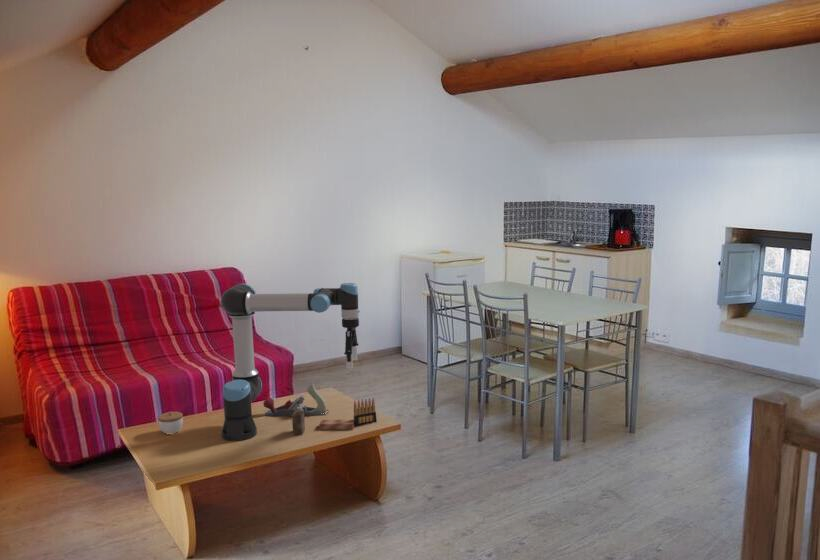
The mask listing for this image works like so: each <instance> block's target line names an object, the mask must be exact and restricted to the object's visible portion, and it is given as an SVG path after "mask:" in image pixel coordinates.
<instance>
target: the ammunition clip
mask: <svg viewBox="0 0 820 560" xmlns="http://www.w3.org/2000/svg"><path fill="white" fill-rule="evenodd" d="M371 399H372V400H371ZM360 401H361V402H360ZM353 420H354V424H355V425H354V427H356V426H357V427H358V426H363V425H368V424H367V423H369V424H373V423H372V422H374V423H377V422H378V421H377V420H378V419H377V411H376V403H375V398H374V397H372V398H370V397H368V399H367V398H365V399H363V398H362V399H361V400H360V399H358V400H357V401H356V400H354V402H353ZM376 421H377V422H376Z"/></svg>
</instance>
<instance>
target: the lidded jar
mask: <svg viewBox="0 0 820 560" xmlns="http://www.w3.org/2000/svg"><path fill="white" fill-rule="evenodd" d="M183 416H184V415H183V412H179V411H168V412H164V413H161V414H159V415H158V416H157V423H158V427H159V430H160V431H162V433H164V434H165V433H175V432H178V431H180V430H181V429H182V428H183V423H184V417H183ZM178 433H179V432H178Z"/></svg>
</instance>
